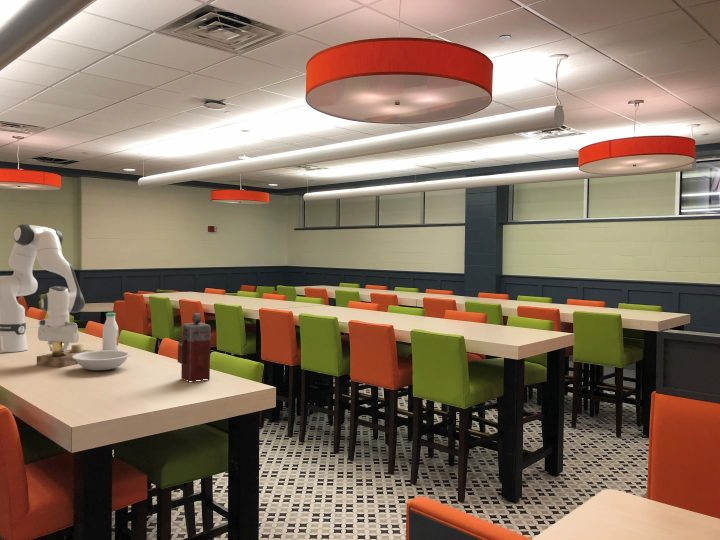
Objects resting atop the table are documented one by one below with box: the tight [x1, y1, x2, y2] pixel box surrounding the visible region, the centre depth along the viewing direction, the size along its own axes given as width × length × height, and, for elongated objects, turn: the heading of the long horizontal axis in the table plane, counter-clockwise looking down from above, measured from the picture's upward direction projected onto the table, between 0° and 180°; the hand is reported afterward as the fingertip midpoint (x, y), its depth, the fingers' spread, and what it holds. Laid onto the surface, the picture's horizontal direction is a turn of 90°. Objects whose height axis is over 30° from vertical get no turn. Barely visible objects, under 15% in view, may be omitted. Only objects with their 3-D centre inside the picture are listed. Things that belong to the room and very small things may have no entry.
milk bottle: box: [101, 312, 119, 351], centre depth 300 cm, size 8×8×20 cm
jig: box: [36, 344, 93, 368], centre depth 266 cm, size 14×22×7 cm, turn 165°
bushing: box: [51, 341, 64, 357], centre depth 261 cm, size 5×5×7 cm
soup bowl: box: [72, 350, 132, 371], centre depth 252 cm, size 24×24×7 cm
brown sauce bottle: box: [177, 312, 212, 381], centre depth 236 cm, size 9×11×28 cm
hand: (58, 351), depth 261 cm, fingers closed on bushing, 5 cm apart
